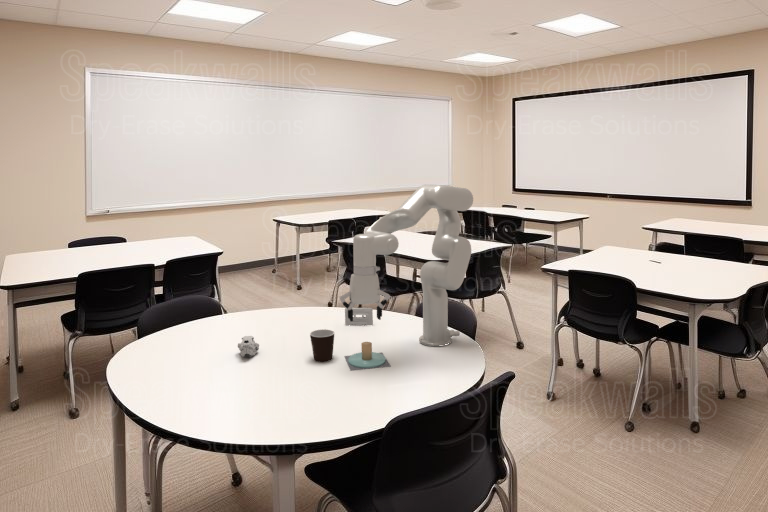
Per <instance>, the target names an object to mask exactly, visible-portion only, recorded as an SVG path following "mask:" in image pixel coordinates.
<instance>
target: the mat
mask: <svg viewBox="0 0 768 512" xmlns="http://www.w3.org/2000/svg"><path fill="white" fill-rule="evenodd" d="M379 353H380V354H382V355H384V352H379ZM350 356H351V355H344V359H345V361H346V364H347V366H348V368H349V371H350V372H351V371H362V370H370V369H371V370H372V369H380V368H381V369H382V368H391V367H392V366H391V364H390V363H389V361H388V359H387V358H386V361H385V363H384V364H383V365H381V366H378V367H374V368H357V367H354V366H351V365H350V364H349V362H348V358H349V357H350Z"/></svg>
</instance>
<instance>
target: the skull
mask: <svg viewBox="0 0 768 512" xmlns="http://www.w3.org/2000/svg"><path fill="white" fill-rule="evenodd" d="M241 340H242V341H241V342H239V343H237V348H238V350H239V351H240V352H239V354H240V355H241V358H245V355H250V356H255V355H256V354H258V353H257V352H258V351H259V349H260V344H259V343H257V342H256V341H255V337H254V336H252V335H245V336H242V337H241Z"/></svg>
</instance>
